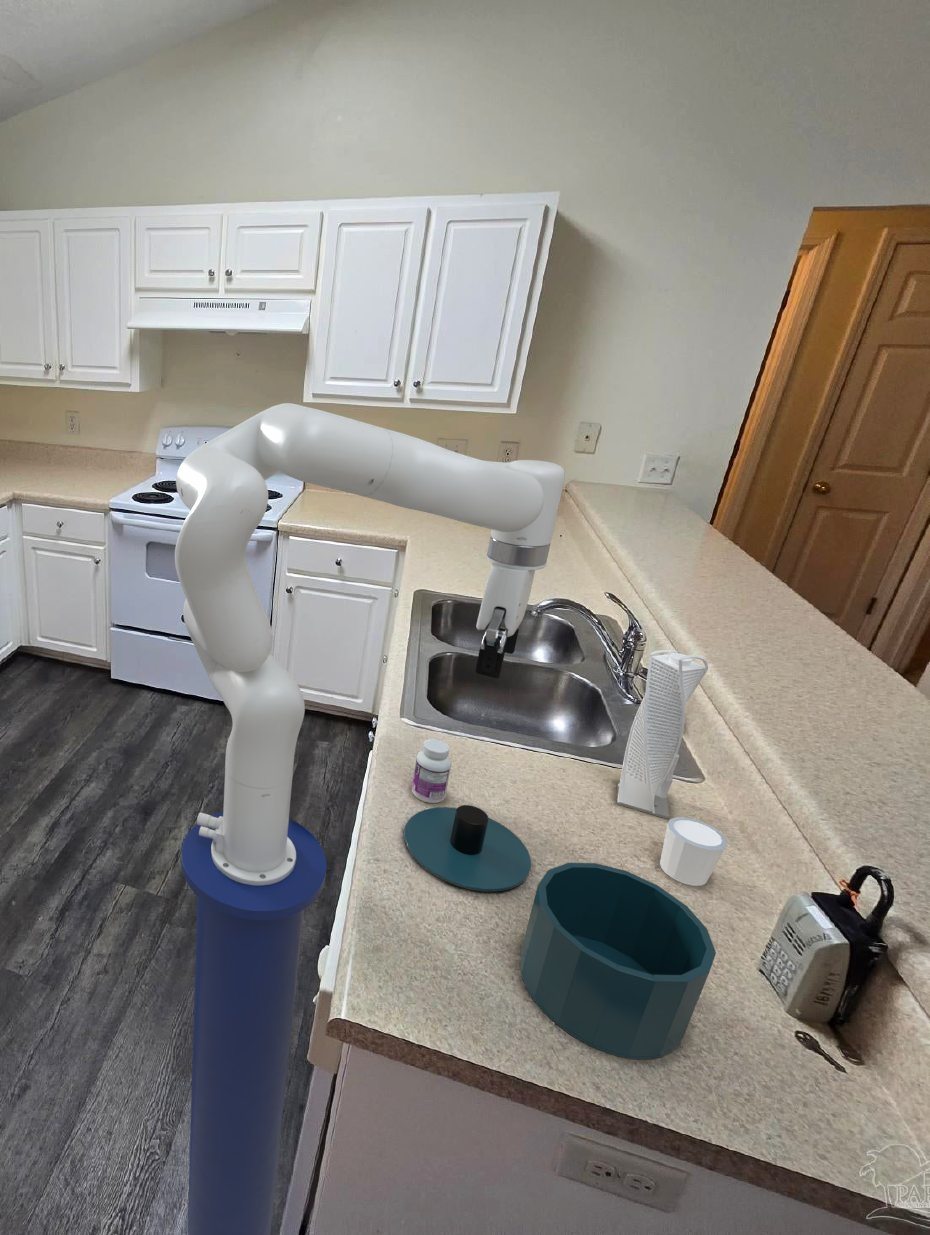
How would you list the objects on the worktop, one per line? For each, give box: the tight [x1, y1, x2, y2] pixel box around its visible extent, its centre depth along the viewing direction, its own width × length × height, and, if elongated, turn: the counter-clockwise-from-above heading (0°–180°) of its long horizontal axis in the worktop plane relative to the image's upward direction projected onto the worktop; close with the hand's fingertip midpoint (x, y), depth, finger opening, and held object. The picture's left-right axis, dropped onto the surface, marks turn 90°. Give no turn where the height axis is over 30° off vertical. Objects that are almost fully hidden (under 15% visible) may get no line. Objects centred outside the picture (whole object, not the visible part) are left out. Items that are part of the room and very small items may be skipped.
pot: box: [519, 862, 717, 1061], centre depth 79 cm, size 17×17×12 cm
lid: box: [403, 804, 532, 893], centre depth 102 cm, size 17×17×7 cm
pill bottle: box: [411, 738, 452, 804], centre depth 114 cm, size 5×5×10 cm
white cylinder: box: [659, 816, 729, 887], centre depth 98 cm, size 7×7×7 cm
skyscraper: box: [616, 648, 709, 820], centre depth 109 cm, size 8×8×28 cm
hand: (495, 662), depth 102 cm, fingers open, 9 cm apart
